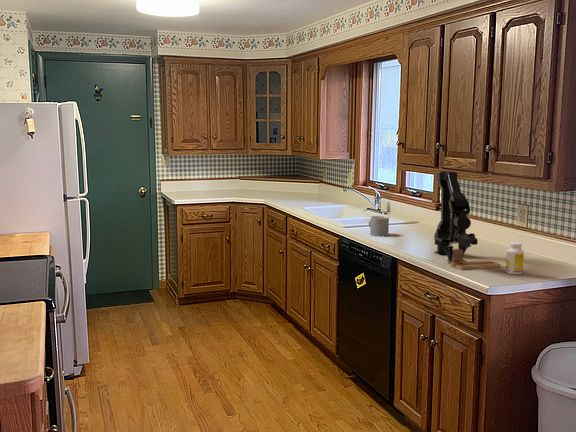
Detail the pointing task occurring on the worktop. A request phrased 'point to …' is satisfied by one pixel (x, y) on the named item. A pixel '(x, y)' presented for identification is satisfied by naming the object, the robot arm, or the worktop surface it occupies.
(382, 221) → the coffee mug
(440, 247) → the robot arm
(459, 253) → the brown block with bar
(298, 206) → the worktop surface
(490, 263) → the plank
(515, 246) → the supplement bottle
